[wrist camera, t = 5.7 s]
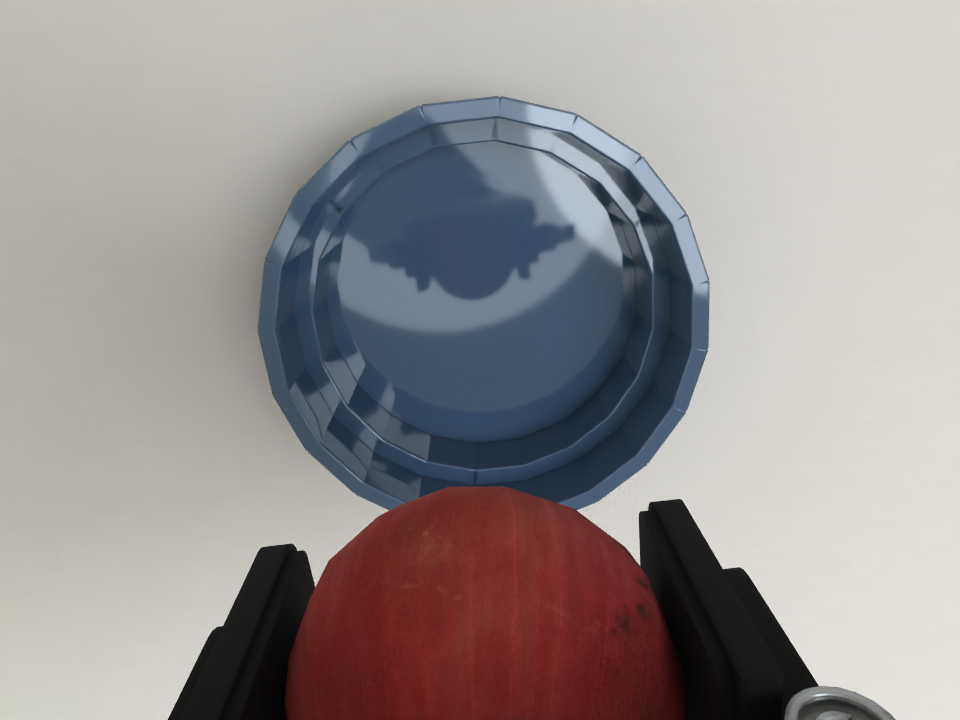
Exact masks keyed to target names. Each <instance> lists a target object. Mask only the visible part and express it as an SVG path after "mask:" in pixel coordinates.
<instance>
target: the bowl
mask: <svg viewBox="0 0 960 720" xmlns="http://www.w3.org/2000/svg"><path fill="white" fill-rule="evenodd" d="M258 334H259V339H260V343H261V347H262V351H263V356H264V360H265V364H266V369H267V373H268V377H269V382H270V386H271V390H272V394H273V397H274V398H275V400H276V402H277V403H278V405H279V407H280V408H281V410H282V412H283V413H284V415H285V416H286V418H287V420H288V421H289V423H290V425H291V426H292V428H293V430H294V431H295V433H296V435H297V436H298V438H299V440H300V441H301V443H302V445H303V446H304V448H305V450H306V451H308V453H310V454H311V455H312V456H313V457H314V458H315V459H316V460H317V461H318V462H320V463H321V464H322V465H323V466H324V467H325V468H326V469H327V470H329V471H330V472H331V473H332V474H333V475H334V476H335V477H336V478H338V479H339V480H340V481H341V482H342V483H343V484H344V485H345V486H347V487H348V488H349V489H350V490H351V491H352V492H353V493H355V494H356V495H358V496H360V497H362V498H364V499H366V500H368V501H371V502H373V503H375V504H377V505H379V506H381V507H383V508H385V509H387V510H391V509H393V508H395V507H397V506H399V505H401V504H404V503H407V502H409V501H412V500H415V499H417V498H420V497H423V496H425V495H428V494H431V493H434V492H436V491H439V490H442V489H444V488H447V487H507V488H511V489H514V490H518V491H521V492H524V493H527V494H530V495H533V496H536V497H540V498H543V499H546V500H549V501H552V502H555V503H558V504H562V505H565V506H568V507H571V508H574V509H575V510H578V509H581V508H583V507H586V506H589V505H591V504H594V503H596V502H598V501H599V500H601V499H602V498H603V497H605V496H606V495H607V494H609V493H610V492H611V491H613V490H614V489H615V488H617V487H618V486H619V485H621V484H622V483H623V482H625V481H626V480H627V479H629V478H630V477H631V476H633V475H634V474H635V473H637V472H638V471H639V470H641V469H642V468H643V467H645V466H646V465H647V463H649V462H650V460H651V459H652V458H653V456H654V455H655V454H656V452H657V451H658V450H659V448H660V447H661V445H662V444H663V443H664V441H665V440H666V439H667V437H668V436H669V435H670V433H671V432H672V431H673V429H674V428H675V427H676V425H677V424H678V423H679V421H680V420H681V419H682V417H683V416H684V415H685V413H686V412H685V411H687V409H688V406H689V403H690V400H691V397H692V395H693V392H694V389H695V386H696V383H697V380H698V377H699V374H700V372H701V369H702V366H703V363H704V360H705V357H706V354H707V352H708V344H709V278H708V275H707V272H706V269H705V266H704V263H703V260H702V257H701V254H700V251H699V247H698V244H697V241H696V238H695V235H694V232H693V229H692V226H691V223H690V220H689V217H688V215H687V214H686V211H685V210H684V209H683V207H682V206H681V205H680V204H679V202H678V201H677V200H676V198H675V197H674V196H673V194H672V193H671V192H670V191H669V189H668V188H667V187H666V185H665V184H664V183H663V182H662V180H661V179H660V178H659V176H658V175H657V174H656V173H655V171H654V170H653V169H652V167H651V166H650V165H649V164H648V162H647V161H646V160H645V158H644V157H642V156H641V155H640V154H639V153H638V152H636V151H635V150H633V149H632V148H630V147H629V146H627V145H625V144H624V143H622V142H621V141H619V140H618V139H616V138H614V137H613V136H611V135H610V134H608V133H607V132H605V131H603V130H602V129H600V128H599V127H597V126H596V125H594V124H592V123H591V122H589V121H588V120H586V119H585V118H583V117H582V116H580V115H576V114H575V113H572V112H568V111H564V110H559V109H555V108H551V107H546V106H542V105H538V104H533V103H529V102H525V101H520V100H516V99H512V98H507V97H503V96H501V97H499V96H494V97H485V98H476V99H467V100H458V101H449V102H440V103H431V104H423V105H421V106H417V107H415V108H413V109H410V110H408V111H406V112H404V113H402V114H400V115H398V116H396V117H394V118H392V119H390V120H388V121H386V122H384V123H382V124H380V125H377V126H375V127H373V128H371V129H369V130H367V131H365V132H363V133H361V134H359V135H357V136H355V137H353V138H351V139H350V140H349V141H347V142H346V143H345V144H344V145H343V146H342V147H341V148H340V149H339V150H338V151H337V152H336V153H335V154H334V155H333V156H332V157H331V158H330V159H329V160H328V161H327V162H326V163H325V164H324V165H323V166H322V167H321V168H320V169H319V170H318V171H317V172H316V173H315V174H314V175H313V176H312V177H311V178H310V179H309V180H308V181H307V182H306V183H305V184H304V185H303V186H302V187H301V188H300V190H299V191H298V192H297V194H295V196H294V198H293V200H292V202H291V204H290V206H289V208H288V211H287V213H286V215H285V217H284V219H283V221H282V223H281V225H280V228H279V230H278V232H277V234H276V236H275V238H274V240H273V242H272V245H271V247H270V249H269V251H268V253H267V255H266V257H265V262H264V270H263V280H262V290H261V300H260V309H259V319H258Z"/></svg>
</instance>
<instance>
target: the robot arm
mask: <svg viewBox="0 0 960 720" xmlns="http://www.w3.org/2000/svg"><path fill="white" fill-rule="evenodd" d="M639 537H640V565H641V568H642V570H643V571H644V572H645V574H646V575H647V576H648V579H649V581H650V583H651V586H652V588H653V590H654V593H655V595H656V597H657V600H658V602H659V604H660V607H661V609H662V611H663V614H664V616H665V618H666V621H667V623H668V625H669V628H670V630H671V632H672V635H673V638H674V642H675V645H676V648H677V651H678V654H679V658H680V661H681V664H682V668H683V672H684V676H685V679H686V683H687V695H686V720H895V719H894V718H893V716H892V715H891V714H890V713H889V712H887V711H886V710H885V709H883V708H882V707H881V706H879V705H878V704H877V703H876V702H874V701H872V700H870V699H868V698H866V697H864V696H862V695H860V694H858V693H856V692H853V691H849V690H846V689H842V688H839V687H827V686H818V684H817V683H816V681H815V679H814V678H813V676H812V675H811V673H810V672H809V670H808V668H807V667H806V665H805V664H804V662H803V661H802V659H801V657H800V656H799V654H798V653H797V651H796V649H795V648H794V646H793V645H792V643H791V642H790V640H789V638H788V637H787V635H786V634H785V632H784V631H783V629H782V627H781V626H780V624H779V623H778V621H777V620H776V618H775V616H774V615H773V613H772V612H771V610H770V609H769V607H768V605H767V604H766V602H765V601H764V599H763V598H762V596H761V594H760V593H759V591H758V590H757V588H756V587H755V585H754V583H753V582H752V580H751V579H750V577H749V576H748V574H747V573H746V572H745V571H744V570H743V569H741V568H740V567H739V568H730V569H722V567H721V565H720V564H719V562H718V560H717V559H716V557H715V555H714V553H713V552H712V550H711V548H710V547H709V545H708V543H707V542H706V540H705V538H704V536H703V535H702V533H701V531H700V530H699V528H698V526H697V524H696V523H695V521H694V519H693V518H692V516H691V514H690V513H689V511H688V509H687V507H686V506H685V504H684V502H683V501H682V500H681V499H675V500H667V501H658V502H650V504H649V507H648V511H642V512H640V513H639ZM314 590H315V585H314V581H313V577H312V573H311V569H310V565H309V561H308V557H307V554H306V552H305V551H297V549H296V547H295V546H294V545H293V544H285V545H276V546H268V547H262V548H260V550H259V551H258V553H257V555H256V558H255V560H254V562H253V564H252V566H251V568H250V570H249V572H248V575H247V577H246V579H245V581H244V583H243V585H242V587H241V589H240V592H239V594H238V596H237V598H236V600H235V602H234V604H233V606H232V609H231V611H230V613H229V615H228V617H227V619H226V621H225V623H224V626H221V627H217V628H215V629H214V630H213V631H212V632H211V634H210V635H209V637H208V639H207V641H206V643H205V645H204V647H203V649H202V651H201V653H200V655H199V657H198V659H197V661H196V663H195V665H194V667H193V669H192V671H191V673H190V676H189V678H188V680H187V682H186V684H185V686H184V688H183V690H182V692H181V694H180V696H179V698H178V700H177V702H176V704H175V706H174V708H173V710H172V712H171V714H170V716H169V718H168V720H287V716H286V709H285V703H284V701H285V691H286V681H287V670H288V660H289V655H290V652H291V649H292V647H293V644H294V641H295V639H296V636H297V633H298V631H299V628H300V625H301V622H302V620H303V617H304V614H305V612H306V609H307V606H308V604H309V601H310V598H311V596H312V594H313V592H314Z"/></svg>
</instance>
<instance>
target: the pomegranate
mask: <svg viewBox="0 0 960 720" xmlns="http://www.w3.org/2000/svg"><path fill="white" fill-rule="evenodd" d="M686 695H687V683H686V679H685V676H684V672H683V668H682V664H681V661H680V658H679V654H678V651H677V648H676V645H675V642H674V638H673V635H672V632H671V630H670V628H669V625H668V623H667V621H666V618H665V616H664V614H663V611H662V609H661V607H660V604H659V602H658V600H657V597H656V595H655V593H654V590H653V588H652V586H651V583H650V581H649V579H648V576H647V575H646V574H645V572H644V571H643V570H642V568H641V567H640V566H639V564H638V563H637V562H636V561H635V559H634V558H633V557H632V555H631V554H630V553H629V551H628V550H627V549H626V548H625V547H624V546H623V545H622V544H620V543H619V542H618V541H616V540H615V539H614V538H612V537H611V536H610V535H608V534H607V533H606V532H604V531H603V530H602V529H600V528H599V527H598V526H596V525H595V524H594V523H592V522H591V521H590V520H588V519H587V518H586V517H584V516H583V515H582V514H580V513H579V512H578V511H576V510H575V509H574V508H571V507H568V506H565V505H562V504H558V503H555V502H552V501H549V500H546V499H543V498H540V497H536V496H533V495H530V494H527V493H524V492H521V491H518V490H514V489H511V488H507V487H447V488H444V489H442V490H439V491H436V492H434V493H431V494H428V495H425V496H423V497H420V498H417V499H415V500H412V501H409V502H407V503H404V504H401V505H399V506H397V507H395V508H393V509H391V510H389V511H388V512H386V513H384V514H382V515H381V516H379V517H377V518H376V519H375V520H374V521H373V522H372V523H370V524H369V525H368V526H367V527H366V528H365V529H364V530H363V531H361V532H360V533H359V534H358V535H357V536H356V537H355V538H354V539H353V540H351V541H350V542H349V543H348V544H347V545H346V546H345V547H344V548H342V549H341V550H340V551H339V552H338V553H337V554H336V555H335V556H334V557H332V558H331V559H330V560H329V561H328V563H327V566H326V568H325V570H324V572H323V574H322V576H321V578H320V580H319V582H318V584H317V586H316V588H315V590H314V592H313V594H312V596H311V598H310V601H309V604H308V606H307V609H306V612H305V614H304V617H303V620H302V622H301V625H300V628H299V631H298V633H297V636H296V639H295V641H294V644H293V647H292V649H291V652H290V655H289V660H288V670H287V681H286V691H285V701H284V703H285V709H286V716H287V720H686Z"/></svg>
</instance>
